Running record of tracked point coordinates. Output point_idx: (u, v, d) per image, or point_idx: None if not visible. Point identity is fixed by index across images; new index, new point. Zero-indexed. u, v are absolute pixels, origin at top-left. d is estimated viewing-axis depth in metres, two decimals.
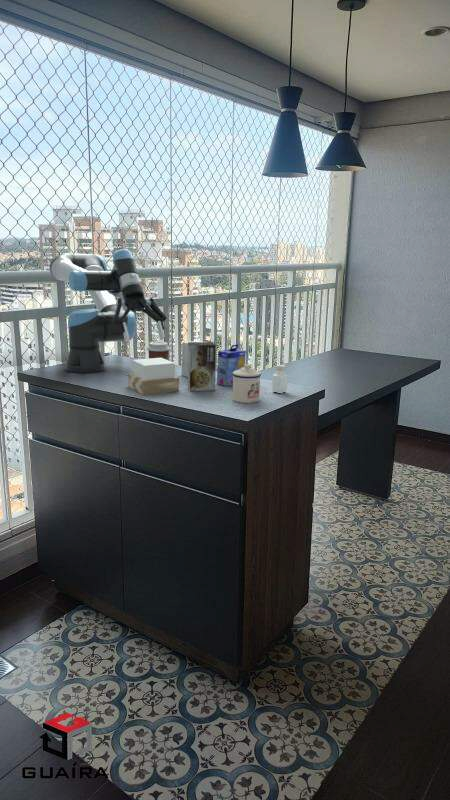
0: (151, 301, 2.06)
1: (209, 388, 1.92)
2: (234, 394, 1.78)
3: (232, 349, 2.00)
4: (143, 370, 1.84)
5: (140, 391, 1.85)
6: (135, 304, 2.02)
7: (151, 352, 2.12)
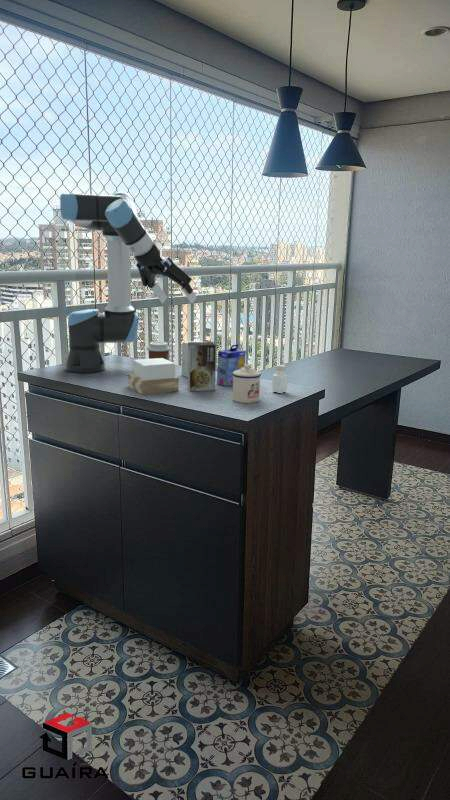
0: (166, 267, 1.68)
1: (209, 388, 1.92)
2: (234, 394, 1.78)
3: (232, 349, 2.00)
4: (143, 370, 1.84)
5: (140, 391, 1.86)
6: (153, 270, 1.73)
7: (151, 352, 2.12)
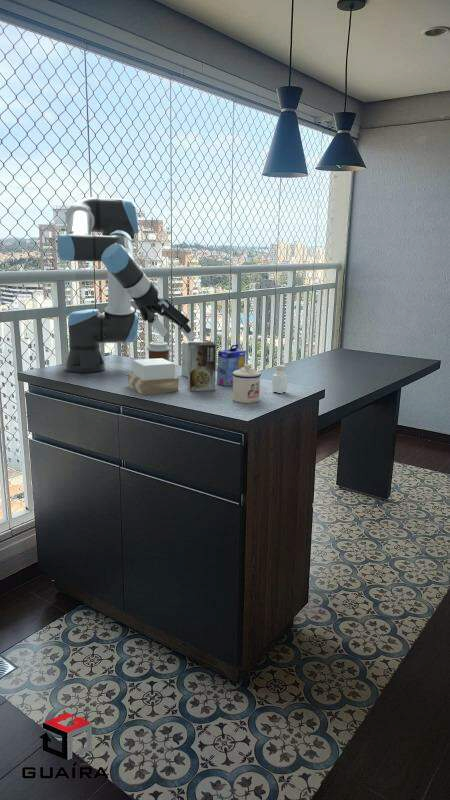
0: (163, 308, 1.67)
1: (209, 388, 1.92)
2: (234, 394, 1.78)
3: (232, 349, 2.00)
4: (143, 370, 1.84)
5: (140, 391, 1.86)
6: (151, 309, 1.72)
7: (151, 352, 2.12)
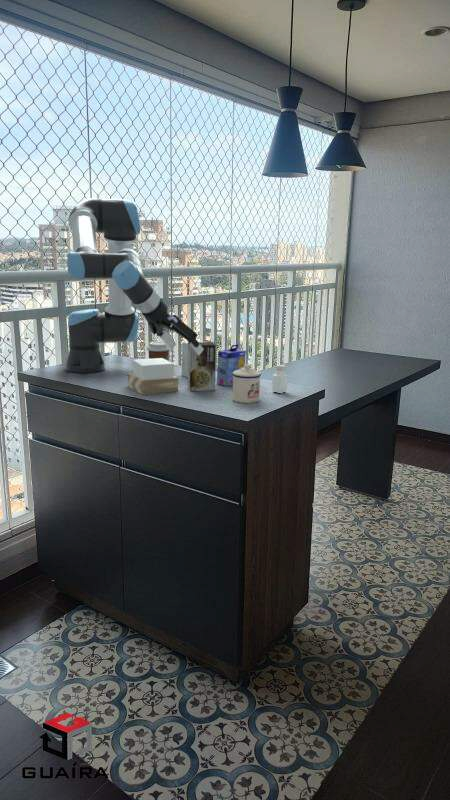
0: (172, 324, 1.70)
1: (209, 388, 1.92)
2: (234, 394, 1.78)
3: (232, 349, 2.00)
4: (141, 370, 1.84)
5: (140, 391, 1.86)
6: (160, 324, 1.76)
7: (151, 352, 2.12)
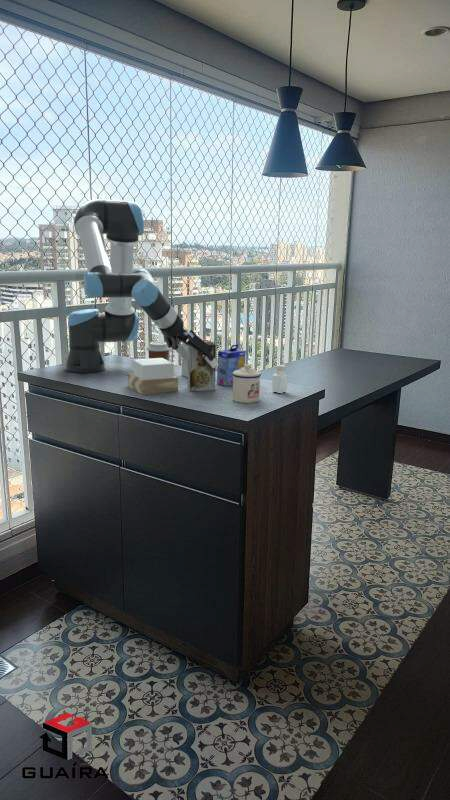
0: (188, 338, 1.77)
1: (209, 388, 1.92)
2: (234, 394, 1.78)
3: (232, 349, 2.00)
4: (141, 370, 1.84)
5: (140, 390, 1.86)
6: (177, 338, 1.82)
7: (151, 352, 2.12)
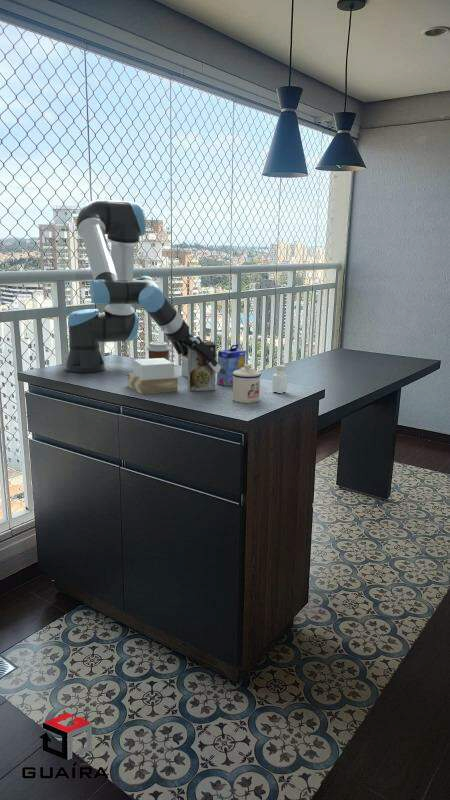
0: (194, 344, 1.80)
1: (209, 388, 1.92)
2: (234, 394, 1.78)
3: (232, 349, 2.00)
4: (141, 370, 1.84)
5: (139, 390, 1.86)
6: None
7: (151, 352, 2.12)
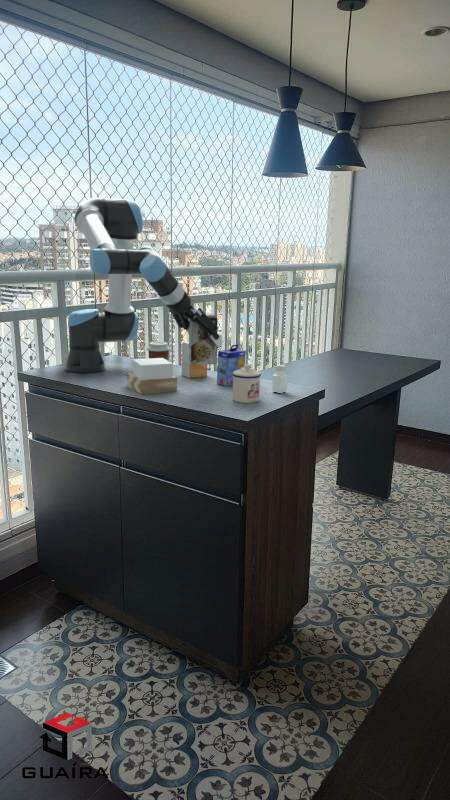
0: (196, 316, 1.77)
1: (210, 362, 1.88)
2: (234, 394, 1.78)
3: (232, 349, 2.00)
4: (140, 370, 1.84)
5: (139, 390, 1.86)
6: (184, 315, 1.81)
7: (151, 352, 2.12)
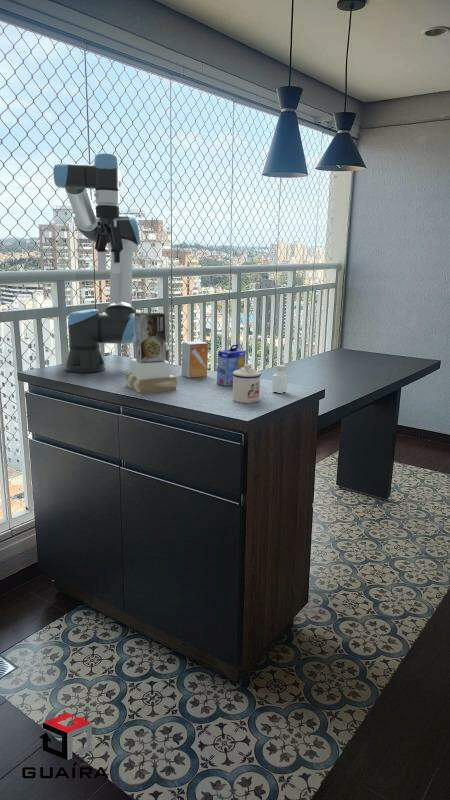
0: (110, 225, 1.77)
1: (160, 358, 1.90)
2: (234, 394, 1.78)
3: (232, 349, 2.00)
4: (137, 369, 1.86)
5: (138, 390, 1.87)
6: (104, 229, 1.83)
7: None
